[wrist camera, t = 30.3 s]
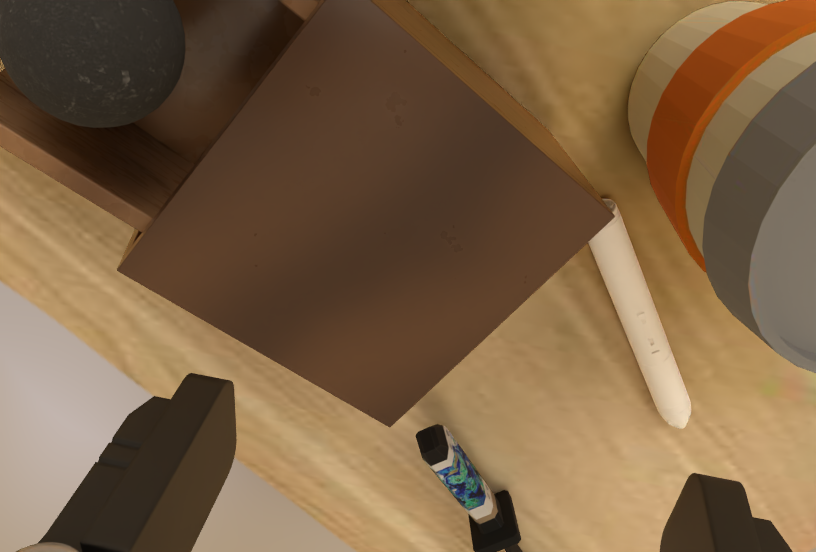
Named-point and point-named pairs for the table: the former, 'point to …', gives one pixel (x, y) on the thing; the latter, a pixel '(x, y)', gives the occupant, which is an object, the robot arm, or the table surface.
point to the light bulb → (93, 56)
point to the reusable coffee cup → (740, 158)
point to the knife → (471, 492)
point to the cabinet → (369, 210)
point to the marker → (640, 319)
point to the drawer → (158, 111)
